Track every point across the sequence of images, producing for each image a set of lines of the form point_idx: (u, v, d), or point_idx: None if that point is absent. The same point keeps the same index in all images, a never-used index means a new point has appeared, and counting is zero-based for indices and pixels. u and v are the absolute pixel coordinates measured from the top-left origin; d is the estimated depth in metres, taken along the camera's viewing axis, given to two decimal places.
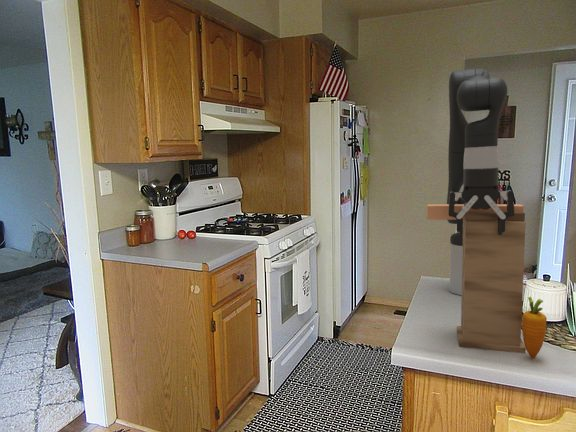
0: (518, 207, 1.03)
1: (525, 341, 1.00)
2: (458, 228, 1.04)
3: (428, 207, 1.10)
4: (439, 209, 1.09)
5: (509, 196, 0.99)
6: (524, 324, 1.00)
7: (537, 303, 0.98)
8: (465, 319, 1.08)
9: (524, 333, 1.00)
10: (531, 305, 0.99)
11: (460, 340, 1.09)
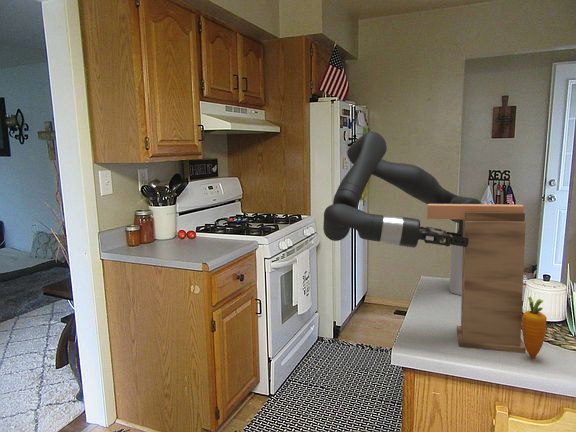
0: (518, 207, 1.03)
1: (525, 341, 1.00)
2: None
3: (428, 206, 1.11)
4: (439, 209, 1.10)
5: (429, 242, 1.05)
6: (524, 324, 1.00)
7: (537, 303, 0.98)
8: (465, 319, 1.08)
9: (524, 333, 1.00)
10: (531, 305, 0.99)
11: (460, 340, 1.09)
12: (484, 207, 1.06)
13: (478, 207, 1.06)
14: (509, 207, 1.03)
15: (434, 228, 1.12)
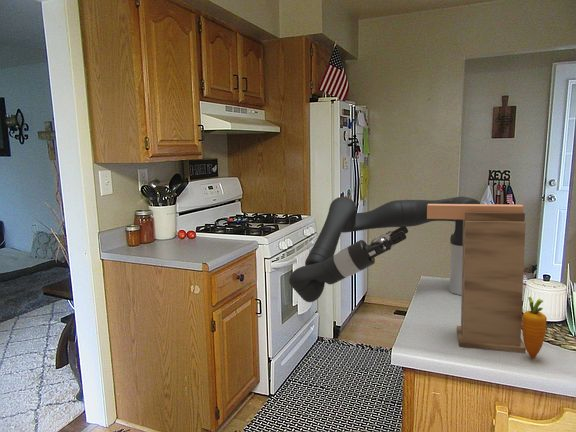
0: (518, 207, 1.03)
1: (525, 341, 1.00)
2: (403, 232, 1.19)
3: (428, 206, 1.11)
4: (439, 209, 1.10)
5: (375, 256, 1.11)
6: (524, 324, 1.00)
7: (537, 303, 0.98)
8: (465, 319, 1.08)
9: (524, 333, 1.00)
10: (531, 305, 0.99)
11: (460, 340, 1.09)
12: (484, 207, 1.06)
13: (478, 207, 1.06)
14: (509, 207, 1.03)
15: None
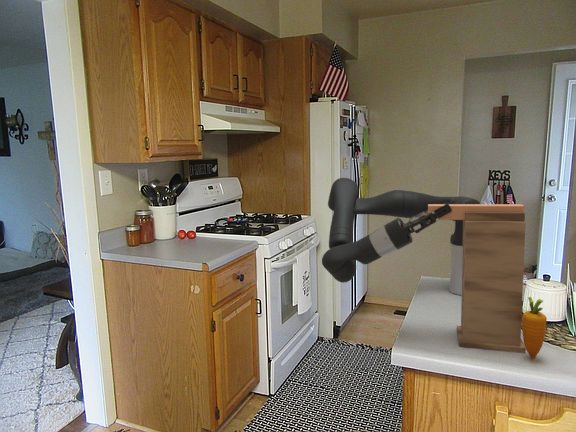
0: (519, 207, 1.03)
1: (525, 341, 1.00)
2: None
3: (429, 207, 1.10)
4: None
5: (420, 230, 1.07)
6: (524, 324, 1.00)
7: (537, 303, 0.98)
8: (465, 319, 1.08)
9: (524, 333, 1.00)
10: (531, 305, 0.99)
11: (460, 340, 1.09)
12: (485, 207, 1.05)
13: (479, 207, 1.06)
14: (510, 207, 1.04)
15: (418, 214, 1.14)
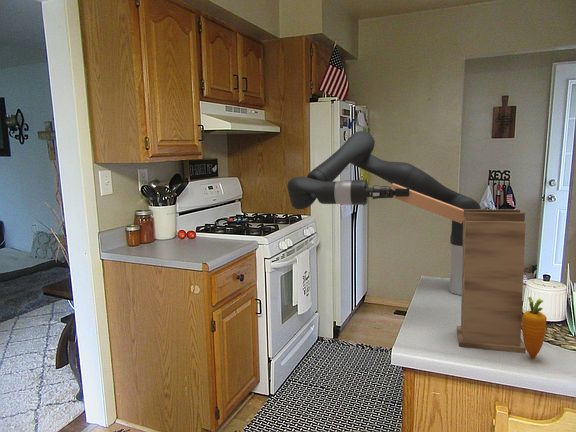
0: (462, 211, 1.20)
1: (525, 341, 1.00)
2: None
3: (392, 185, 1.25)
4: None
5: None
6: (524, 324, 1.00)
7: (537, 303, 0.98)
8: (465, 319, 1.08)
9: (524, 333, 1.00)
10: (531, 305, 0.99)
11: (460, 340, 1.09)
12: (436, 202, 1.22)
13: (431, 200, 1.22)
14: (455, 209, 1.21)
15: (382, 186, 1.29)
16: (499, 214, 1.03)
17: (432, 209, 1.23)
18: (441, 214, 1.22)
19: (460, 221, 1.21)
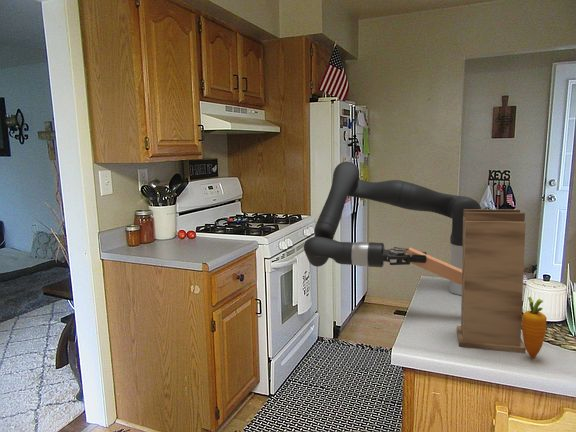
0: None
1: (525, 341, 1.00)
2: None
3: (409, 251, 1.27)
4: None
5: None
6: (524, 324, 1.00)
7: (537, 303, 0.98)
8: (465, 319, 1.08)
9: (524, 333, 1.00)
10: (531, 305, 0.99)
11: (460, 340, 1.09)
12: (453, 270, 1.23)
13: (448, 268, 1.24)
14: None
15: (399, 249, 1.31)
16: (499, 214, 1.03)
17: (449, 276, 1.24)
18: (457, 282, 1.24)
19: None
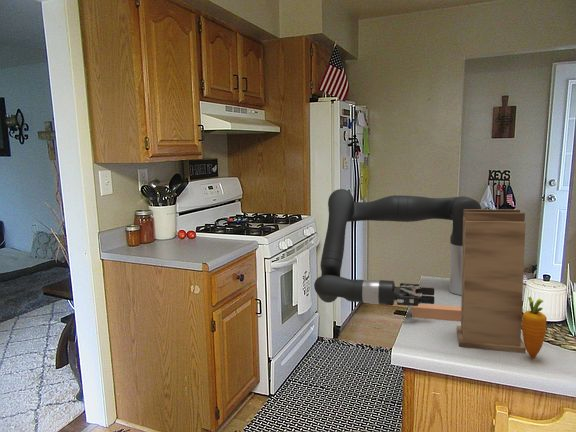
0: None
1: (525, 341, 1.00)
2: None
3: (413, 308, 1.29)
4: (422, 310, 1.28)
5: None
6: (524, 324, 1.00)
7: (537, 303, 0.98)
8: (465, 319, 1.08)
9: (524, 333, 1.00)
10: (531, 305, 0.99)
11: (460, 340, 1.09)
12: (460, 312, 1.24)
13: (455, 311, 1.25)
14: None
15: (409, 286, 1.32)
16: (499, 214, 1.03)
17: (459, 319, 1.25)
18: None
19: None
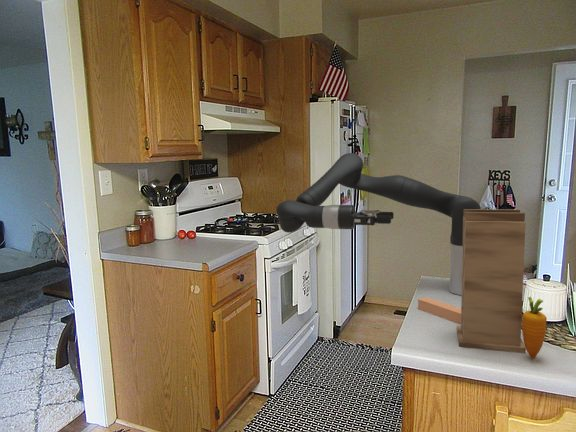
0: None
1: (525, 341, 1.00)
2: None
3: (418, 300, 1.35)
4: (425, 304, 1.33)
5: None
6: (524, 324, 1.00)
7: (537, 303, 0.98)
8: (465, 319, 1.08)
9: (524, 333, 1.00)
10: (531, 305, 0.99)
11: (460, 340, 1.09)
12: (454, 312, 1.24)
13: (450, 311, 1.25)
14: None
15: (368, 210, 1.33)
16: (499, 214, 1.03)
17: (453, 320, 1.24)
18: None
19: None
